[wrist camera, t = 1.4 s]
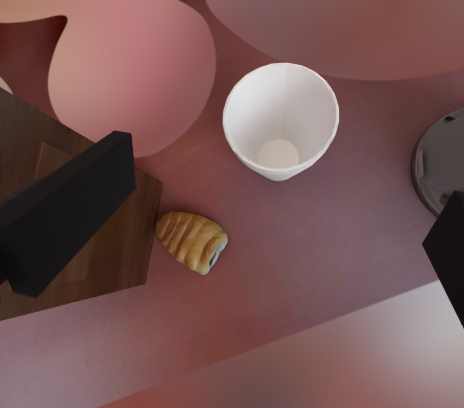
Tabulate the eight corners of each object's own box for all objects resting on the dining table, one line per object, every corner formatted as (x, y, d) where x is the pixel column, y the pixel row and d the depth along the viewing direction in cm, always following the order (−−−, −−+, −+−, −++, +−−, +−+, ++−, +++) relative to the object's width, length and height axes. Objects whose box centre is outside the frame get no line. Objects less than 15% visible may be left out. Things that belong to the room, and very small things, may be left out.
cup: (233, 192, 41) (213, 164, 28) (246, 118, 42) (232, 58, 29) (313, 203, 39) (332, 178, 26) (323, 126, 40) (346, 65, 27)
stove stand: (165, 183, 42) (-38, 61, 15) (147, 284, 41) (-121, 355, 13) (74, 172, 45) (-245, 50, 17) (53, 268, 43) (-339, 298, 16)
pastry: (150, 243, 41) (138, 242, 38) (175, 200, 42) (165, 194, 38) (209, 277, 40) (202, 280, 36) (234, 232, 40) (229, 230, 36)
